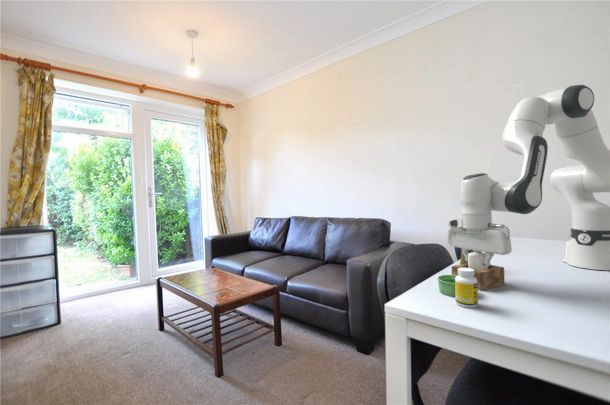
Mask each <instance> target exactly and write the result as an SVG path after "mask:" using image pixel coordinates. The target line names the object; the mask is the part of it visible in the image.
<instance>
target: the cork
mask: <svg viewBox="0 0 610 405" xmlns="http://www.w3.org/2000/svg"><path fill="white" fill-rule="evenodd" d="M460 249H461V252H460V261H459V265H460V264H465V263H468V262H466V261H465V256H464V254H463V252H462V248H460ZM468 252H469V253H471V252H474V251H473V250H470V249H469V251H468Z"/></svg>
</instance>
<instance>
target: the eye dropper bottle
mask: <svg viewBox="0 0 610 405" xmlns="http://www.w3.org/2000/svg"><path fill="white" fill-rule="evenodd" d="M473 251H474V252H471V253H469V254H468V268H471V269H473V270H476V271H480V270H485V269H488V266H485V265H483V264H482V263H483V262H482V260H485V259H486V257H487V256H486V255H485V252H482V251H476V250H473Z"/></svg>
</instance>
